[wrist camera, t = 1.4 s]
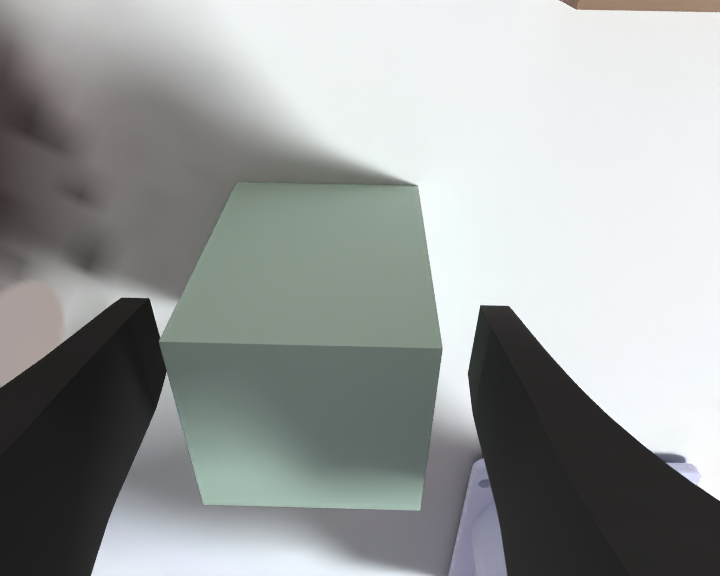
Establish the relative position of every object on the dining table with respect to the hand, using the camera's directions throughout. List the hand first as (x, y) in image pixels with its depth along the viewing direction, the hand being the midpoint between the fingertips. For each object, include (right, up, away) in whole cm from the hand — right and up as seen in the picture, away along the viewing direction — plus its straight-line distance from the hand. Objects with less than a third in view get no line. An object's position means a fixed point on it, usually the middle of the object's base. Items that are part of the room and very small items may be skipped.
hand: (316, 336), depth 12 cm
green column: (0, +2, +3) cm, 3 cm away
